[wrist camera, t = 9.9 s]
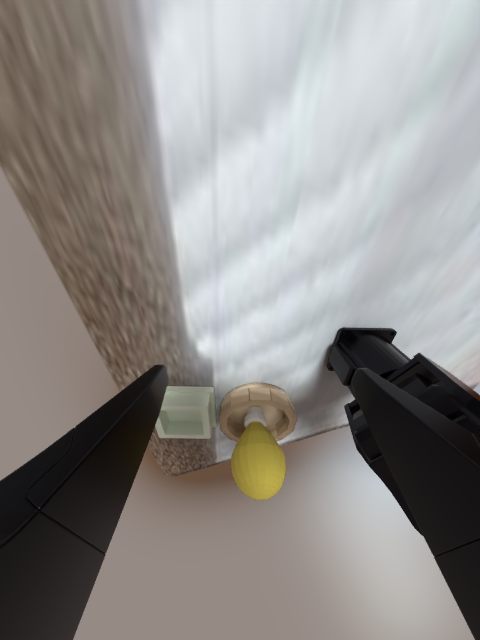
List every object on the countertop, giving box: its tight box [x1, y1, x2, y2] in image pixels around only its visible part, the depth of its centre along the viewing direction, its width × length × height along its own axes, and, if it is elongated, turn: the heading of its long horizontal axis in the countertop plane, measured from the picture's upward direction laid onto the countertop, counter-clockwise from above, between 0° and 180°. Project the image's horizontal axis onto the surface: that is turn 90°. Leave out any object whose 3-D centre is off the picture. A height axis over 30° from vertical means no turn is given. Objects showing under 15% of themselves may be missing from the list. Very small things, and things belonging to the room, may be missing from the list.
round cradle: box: [219, 383, 297, 442], centre depth 28 cm, size 11×11×3 cm
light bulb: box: [231, 407, 286, 500], centre depth 24 cm, size 7×7×10 cm
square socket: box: [155, 386, 216, 439], centre depth 28 cm, size 9×9×3 cm
